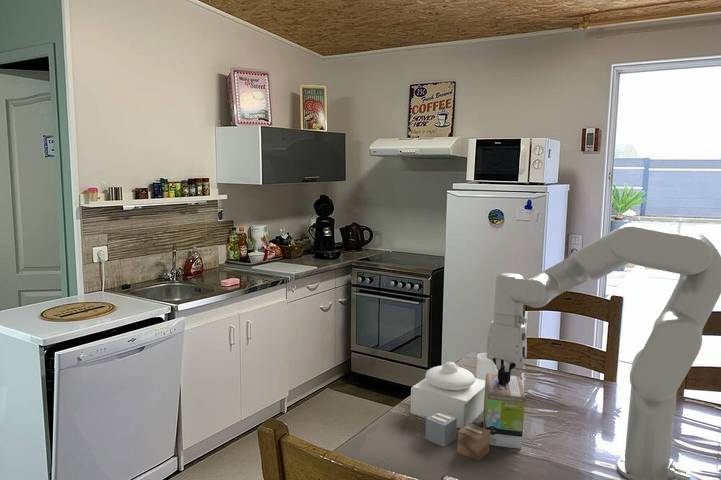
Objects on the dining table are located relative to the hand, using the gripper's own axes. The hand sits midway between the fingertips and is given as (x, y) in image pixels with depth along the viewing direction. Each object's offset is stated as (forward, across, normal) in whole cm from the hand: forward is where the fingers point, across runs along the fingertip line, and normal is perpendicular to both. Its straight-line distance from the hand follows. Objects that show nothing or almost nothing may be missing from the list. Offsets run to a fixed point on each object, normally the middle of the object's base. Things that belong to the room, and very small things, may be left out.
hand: (503, 383), depth 145 cm
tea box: (+15, 0, 0) cm, 15 cm away
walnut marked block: (+15, +1, +14) cm, 20 cm away
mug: (+15, +17, -26) cm, 34 cm away
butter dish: (+15, +18, -2) cm, 24 cm away
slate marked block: (+15, +11, +14) cm, 23 cm away
